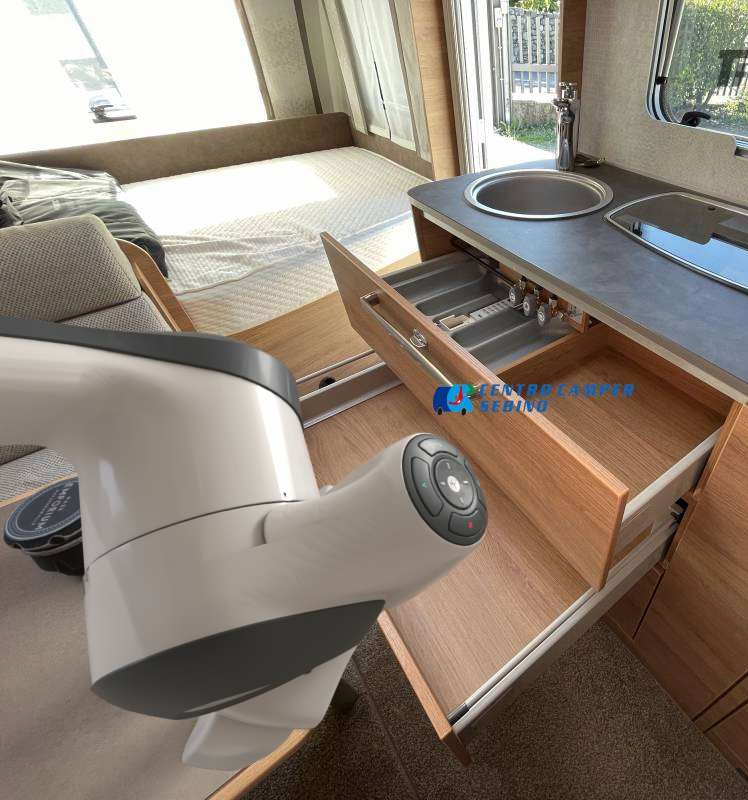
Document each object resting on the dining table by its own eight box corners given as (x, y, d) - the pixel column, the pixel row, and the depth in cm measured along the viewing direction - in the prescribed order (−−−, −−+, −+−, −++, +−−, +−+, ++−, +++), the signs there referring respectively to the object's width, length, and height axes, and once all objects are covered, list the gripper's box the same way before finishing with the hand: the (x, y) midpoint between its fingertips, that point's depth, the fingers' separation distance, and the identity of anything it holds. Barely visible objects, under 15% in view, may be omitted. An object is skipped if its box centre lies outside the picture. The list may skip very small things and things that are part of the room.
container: (49, 536, 71) (0, 499, 65) (144, 496, 77) (107, 458, 70) (45, 598, 64) (-12, 564, 57) (151, 548, 69) (110, 512, 63)
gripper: (330, 451, 39) (266, 515, 45) (198, 741, 24) (130, 773, 30) (392, 482, 42) (323, 538, 48) (311, 758, 26) (226, 784, 33)
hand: (248, 630), depth 39 cm, fingers open, 8 cm apart
